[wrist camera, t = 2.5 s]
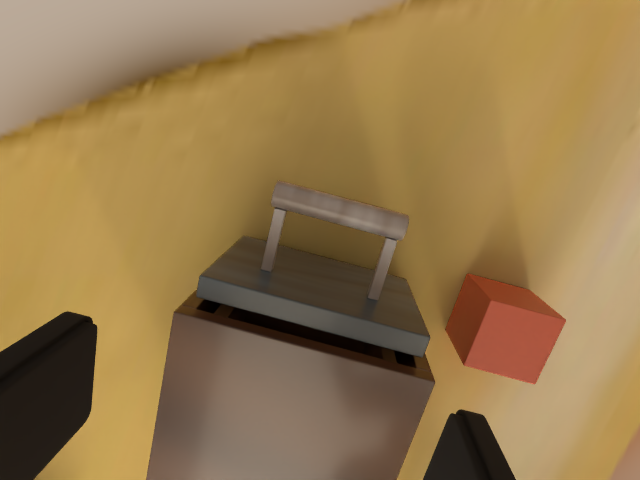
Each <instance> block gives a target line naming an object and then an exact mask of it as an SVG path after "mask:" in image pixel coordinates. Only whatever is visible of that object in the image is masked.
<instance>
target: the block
mask: <svg viewBox="0 0 640 480" xmlns="http://www.w3.org/2000/svg"><path fill="white" fill-rule="evenodd" d="M565 322H566V319H564V318H563V317H562V316H561V315H559V314H558V313H557V312H556V311H555V310H553V309H552V308H551V307H550V306H548V305H547V304H546V303H545V302H544V301H542V300H541V299H540V298H539V297H538V296H536V295H535V294H534V293H533V292H531V291H530V290H528V289H524V288H520V287H517V286H513V285H509V284H505V283H502V282H498V281H494V280H491V279H487V278H483V277H479V276H476V275H472V274H467V275H466V278H465V280H464V283H463V285H462V288H461V291H460V293H459V296H458V298H457V301H456V303H455V306H454V308H453V311H452V314H451V316H450V319H449V321H448V324H447V326H446V329H445V330H446V332H447V334H448V336H449V338H450V340H451V342H452V343H453V345H454V347H455V349H456V351H457V353H458V355H459V357H460V359H461V361H462V363H463V365H464V366H468V367H472V368H475V369H479V370H483V371H486V372H490V373H494V374H498V375H501V376H505V377H509V378H512V379H516V380H520V381H524V382H527V383H531V384H536V382H537V379H538V377H539V375H540V373H541V371H542V369H543V367H544V365H545V363H546V361H547V359H548V357H549V355H550V353H551V351H552V349H553V347H554V345H555V342H556V340H557V338H558V336H559V334H560V332H561V330H562V328H563V326H564V324H565Z"/></svg>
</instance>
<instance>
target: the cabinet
mask: <svg viewBox="0 0 640 480" xmlns="http://www.w3.org/2000/svg"><path fill="white" fill-rule="evenodd" d="M196 293H197V290H196V291H195V292H194V293H193V294H192V295H191V296H190V297H189V298H188V299H187V300H186V301H185V302H184V303H183V304H182V305H180V306H179V307H178V308H177V309H176V310H175V311H174V314H173V320H172V326H171V332H170V338H169V344H168V350H167V357H166V363H165V369H164V375H163V381H162V387H161V393H160V399H159V405H158V411H157V417H156V423H155V429H154V436H153V442H152V448H151V454H150V460H149V466H148V472H147V478H146V480H396V479H397V477H398V474H399V472H400V469H401V467H402V464H403V462H404V459H405V457H406V454H407V452H408V449H409V447H410V444H411V442H412V439H413V437H414V434H415V432H416V429H417V427H418V424H419V422H420V419H421V417H422V414H423V412H424V409H425V407H426V404H427V402H428V399H429V397H430V394H431V392H432V389H433V387H434V384H435V380H434V377H433V375H432V373H431V369H430V366H429V364H428V361H427V358H426V355H425V353H424V356H423V358H421V357H417V356H414V355H410V354H406V353H402V352H399V351H395V350H394V352H395V356H396V361H397V363H394V362H391V361H387V360H383V359H380V358H376V357H372V356H368V355H365V354H361V353H357V352H354V351H350V350H346V349H342V348H339V347H335V346H331V345H328V344H324V343H320V342H316V341H313V340H309V339H305V338H302V337H298V336H294V335H290V334H287V333H283V332H279V331H276V330H272V329H268V328H264V327H261V326H257V325H253V324H249V323H246V322H242V321H238V320H235V319H231V318H227V317H223V316H220V315H216V314H214V313H215V311H216V310H217V309H218V308H219V306H220V305H221V304H220V303H216V302H213V301H209V300H205V299H202V298H198V297H196Z"/></svg>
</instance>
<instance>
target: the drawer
mask: <svg viewBox="0 0 640 480" xmlns="http://www.w3.org/2000/svg"><path fill="white" fill-rule="evenodd" d="M271 205H272V207H276V208H275V209H274V213H273V217H272V222H271V226H270V231H269V235H268V239H267V242H266V241H262V240H259V239H255V238H251V237H248V236H243V237H241V238H240V239H239V240H238V241H237V242H236V243H235V244H234V245H233V246H232V247H230V248H229V249H228V250H227V251H226V252H225V253H224V254H223V255H222V256H221V257H220V258H218V259H217V260H216V261H215V262H214V263H213V264H212V265H211V266H210V267H209V268H207V269H206V270H205V271H204V272H203V273H202V274H201V275H200V277H199V282H198V288H197V293H196V297H198V298H202V299H205V300H209V301H213V302H216V303H220V304H221V305H220V306H219V308H218V309H217V310H216V311H215V313H214V314H216V315H220V316H223V317H227V318H231V319H235V320H238V321H242V322H246V323H249V324H253V325H257V326H261V327H264V328H268V329H272V330H276V331H279V332H283V333H287V334H290V335H294V336H298V337H302V338H305V339H309V340H313V341H316V342H320V343H324V344H328V345H331V346H335V347H339V348H342V349H346V350H350V351H354V352H357V353H361V354H365V355H368V356H372V357H376V358H380V359H383V360H387V361H391V362H394V363H397V361H396V356H395V352H394V350H395V351H399V352H402V353H406V354H410V355H414V356H417V357H421V358H423V356H424V353H425V351H426V348H427V346H428V343H429V340H430V335H429V333H428V330H427V328H426V326H425V323H424V321H423V318H422V316H421V314H420V311H419V309H418V306H417V304H416V302H415V299H414V297H413V295H412V292H411V290H410V287H409V285H408V283H407V280H406V279H404V278H400V277H397V276H393V275H389V274H387V272H388V269H389V265H390V262H391V259H392V256H393V253H394V250H395V247H396V244H397V240H399V241H401V240H402V239H403V238H404V236H405V234H406V231H407V228H408V224H409V216H408V215H406V214H403V213H399V212H395V211H392V210H388V209H384V208H380V207H377V206H373V205H369V204H365V203H362V202H358V201H354V200H350V199H347V198H343V197H339V196H336V195H332V194H328V193H324V192H321V191H317V190H313V189H309V188H306V187H302V186H298V185H294V184H291V183H287V182H283V181H280V180H279V181H277V183H276V185H275V187H274V191H273V195H272V200H271ZM287 211H291V212H295V213H298V214H302V215H306V216H310V217H313V218H317V219H321V220H324V221H328V222H332V223H336V224H339V225H343V226H347V227H351V228H354V229H358V230H362V231H365V232H369V233H373V234H377V235H380V236H384V237H385V239H384V242H383V245H382V248H381V251H380V254H379V258H378V261H377V264H376V267H375V270H371V269H367V268H363V267H359V266H356V265H352V264H348V263H344V262H341V261H337V260H333V259H330V258H326V257H322V256H318V255H315V254H311V253H307V252H303V251H300V250H296V249H292V248H289V247H285V246H281V245H279V242H280V238H281V234H282V230H283V225H284V221H285V217H286V213H287Z"/></svg>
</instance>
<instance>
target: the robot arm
mask: <svg viewBox="0 0 640 480" xmlns="http://www.w3.org/2000/svg"><path fill="white" fill-rule="evenodd" d="M96 341H97V326H96V325H95V324H93V321H92V318H90V317H89V316H84V315H80V314H76V313H72V312H64V313H62V314H60V315H59V316H57V317H56V318H54V319H52V320H51V321H49V322H48V323H46V324H44V325H43V326H41V327H40V328H38V329H36V330H35V331H33V332H32V333H30V334H28V335H27V336H25V337H24V338H22V339H20V340H19V341H17V342H16V343H14V344H12V345H11V346H9V347H8V348H6V349H4V350H3V351H1V352H0V480H33V479H34V478H35V477H36V476H37V475H38V474H39V473H40V472H41V471H42V470H43V468H44V467H45V466H46V465H47V464H48V463H49V462H50V461H51V460H52V459H53V457H54V456H55V455H56V454H57V453H58V452H59V451H60V450H61V449H62V448H63V446H64V445H65V444H66V443H67V442H68V441H69V440H70V439H71V438H72V437H73V435H74V434H75V433H76V432H77V431H78V430H79V429H80V428H81V427H82V426H83V424H84V423H85V422H86V420H87V419H88V417H89V414H90V412H91V405H92V393H93V380H94V367H95V354H96ZM423 480H516V479H515V477H514V475H513V473H512V471H511V469H510V467H509V465H508V463H507V461H506V459H505V457H504V455H503V453H502V451H501V448H500V446H499V444H498V442H497V440H496V438H495V436H494V434H493V432H492V430H491V428H490V426H489V424H488V422H487V420H486V418H485V417H484V416H483V415H481V414H478V413H474V412H470V411H466V410H462V409H461V410H458V411H457V413H456V414H453V413H452V414H450V415H449V417H448V419H447V422H446V424H445V427H444V429H443V432H442V434H441V437H440V439H439V442H438V444H437V446H436V449H435V451H434V454H433V456H432V459H431V461H430V464H429V466H428V469H427V471H426V473H425V476H424V478H423Z"/></svg>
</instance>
